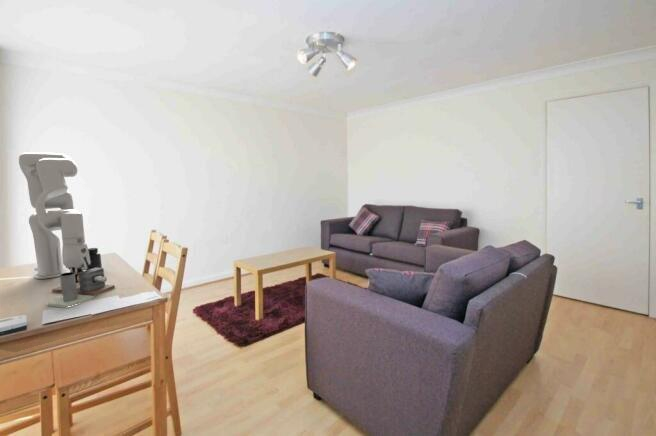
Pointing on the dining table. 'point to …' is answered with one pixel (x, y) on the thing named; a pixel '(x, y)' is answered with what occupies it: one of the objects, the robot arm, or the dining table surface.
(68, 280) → the grey open cylinder
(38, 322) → the dining table surface
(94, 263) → the supplement bottle
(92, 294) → the shaft stand
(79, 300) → the tile
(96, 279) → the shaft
